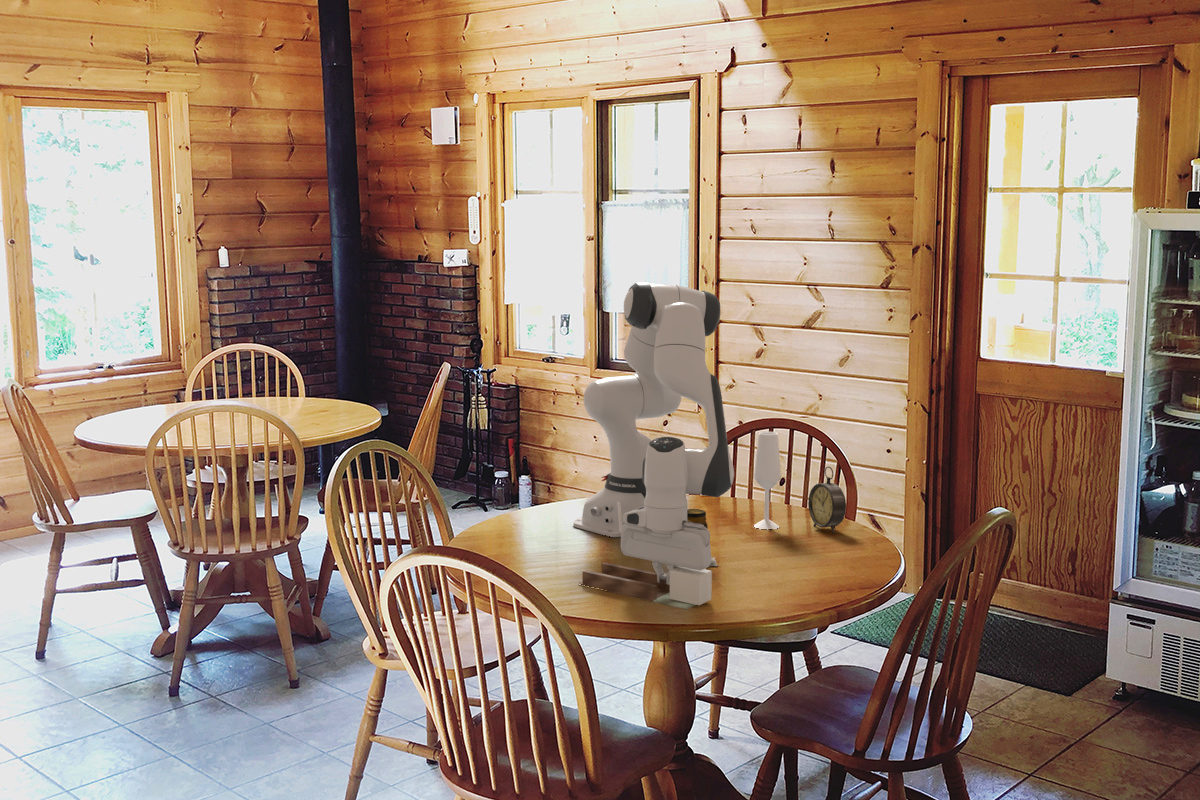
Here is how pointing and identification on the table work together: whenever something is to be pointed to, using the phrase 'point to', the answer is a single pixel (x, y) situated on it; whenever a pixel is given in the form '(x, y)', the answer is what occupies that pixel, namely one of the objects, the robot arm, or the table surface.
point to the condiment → (700, 517)
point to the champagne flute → (767, 471)
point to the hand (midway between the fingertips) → (665, 583)
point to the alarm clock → (827, 504)
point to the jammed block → (690, 585)
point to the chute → (631, 584)
